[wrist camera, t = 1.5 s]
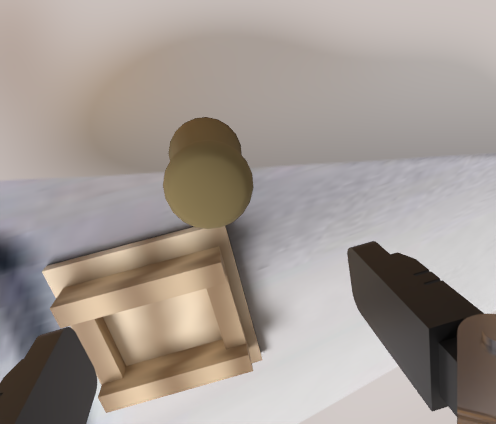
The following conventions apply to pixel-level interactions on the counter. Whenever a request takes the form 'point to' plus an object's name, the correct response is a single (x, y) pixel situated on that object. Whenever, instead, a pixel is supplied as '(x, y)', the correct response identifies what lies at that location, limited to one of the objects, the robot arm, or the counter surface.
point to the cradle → (157, 314)
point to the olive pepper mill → (207, 174)
